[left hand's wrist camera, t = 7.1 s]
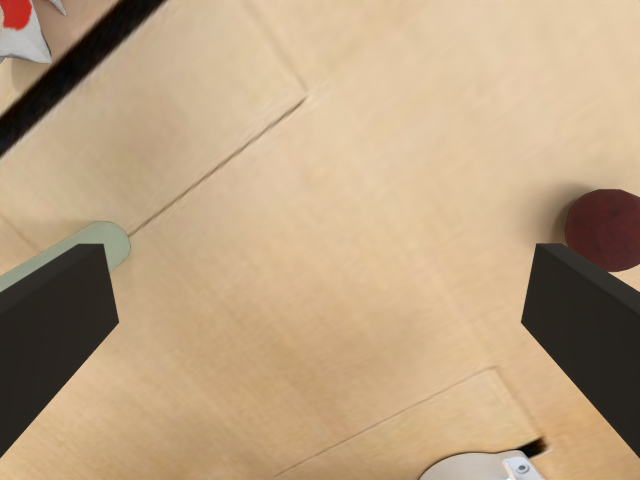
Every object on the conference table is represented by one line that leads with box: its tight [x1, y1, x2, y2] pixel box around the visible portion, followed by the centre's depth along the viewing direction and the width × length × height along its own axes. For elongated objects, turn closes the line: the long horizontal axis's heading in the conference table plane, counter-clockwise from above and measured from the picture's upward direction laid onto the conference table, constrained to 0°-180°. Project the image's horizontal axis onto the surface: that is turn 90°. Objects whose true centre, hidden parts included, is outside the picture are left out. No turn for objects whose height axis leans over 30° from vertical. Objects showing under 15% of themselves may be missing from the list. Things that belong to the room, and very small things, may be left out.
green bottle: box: [0, 221, 130, 292], centre depth 33 cm, size 5×5×18 cm
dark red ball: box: [565, 189, 640, 272], centre depth 37 cm, size 7×8×7 cm
